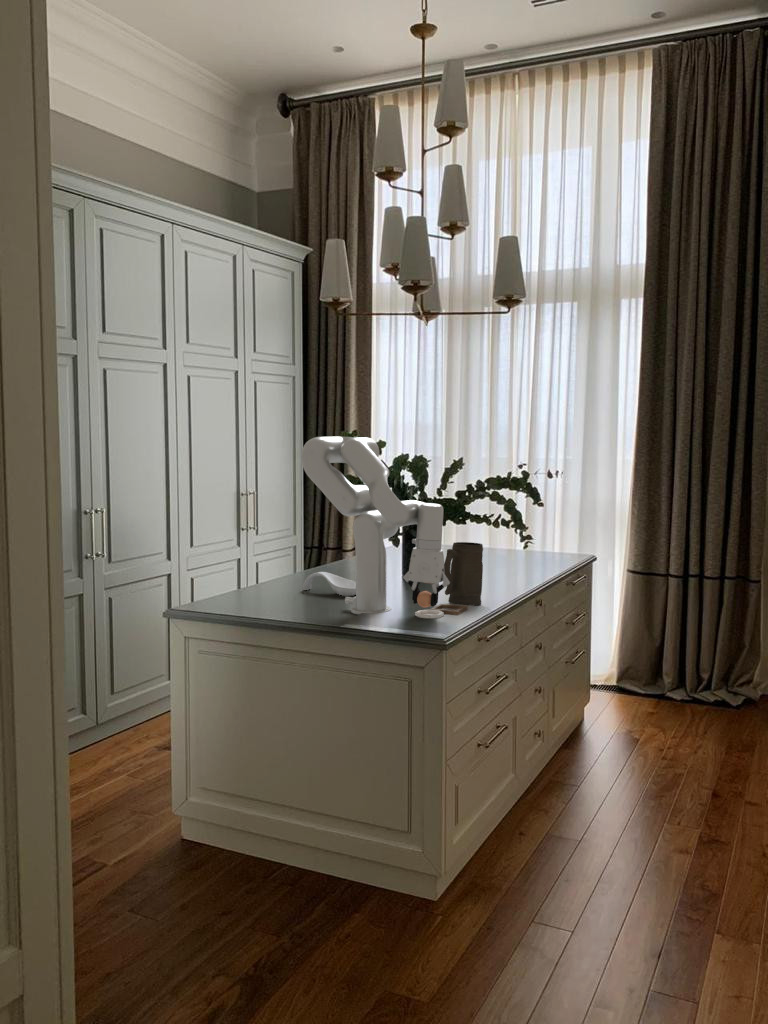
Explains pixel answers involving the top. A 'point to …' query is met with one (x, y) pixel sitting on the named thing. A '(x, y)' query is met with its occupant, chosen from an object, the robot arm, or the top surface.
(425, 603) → the ball
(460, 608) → the tray
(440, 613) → the octagonal white dish
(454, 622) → the top surface
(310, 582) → the spoon rest
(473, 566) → the beer stein
